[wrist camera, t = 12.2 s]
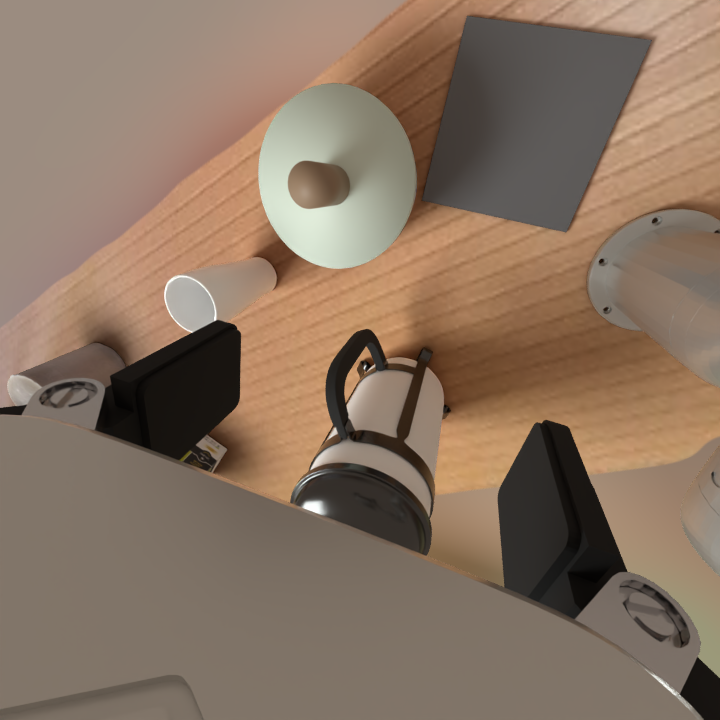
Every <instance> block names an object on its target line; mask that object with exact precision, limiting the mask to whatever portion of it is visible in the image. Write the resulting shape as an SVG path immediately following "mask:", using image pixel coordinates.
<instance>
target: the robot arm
mask: <svg viewBox="0 0 720 720" xmlns="http://www.w3.org/2000/svg"><path fill="white" fill-rule="evenodd" d="M654 218H656V221H655V222H654V223H652V220H653V219H654ZM715 231H716V233H714V232H715ZM600 259H603V262H601V263H599V260H600ZM587 292H588V296H589V299H590V301H591V303H592V305H593V306H594V308H595V309H596V311H597V312H598V313H599V314H600V315H601V316H602V317H603V318H605V319H606V320H607V321H609V322H610V323H612V324H614V325H616V326H618V327H620V328H624V329H628V330H633V331H644V332H645V333H646V334H647V335H649V336H650V337H651V338H652V339H653V340H654V341H656V342H657V343H658V344H659V345H660V346H661V347H663V348H664V349H665V350H666V351H667V352H669V353H670V354H671V355H672V356H673V357H674V358H676V359H677V360H678V361H679V362H680V363H681V364H683V365H684V366H685V367H687V368H688V369H689V370H690V371H691V372H693V373H694V374H695V375H697V376H698V377H699V378H701V379H703V380H704V381H706V382H708V383H710V384H712V385H714V386H716V387H719V388H720V220H718V219H717V218H715V217H713V216H712V215H710V214H706V213H703V212H700V211H696V210H689V209H668V210H661V211H656V212H653V213H649V214H646V215H643V216H641V217H639V218H637V219H635V220H632V221H630V222H628V223H627V224H625V225H624V226H623V227H621V228H620V229H618V230H617V231H615V232H614V233H613V234H612V235H611V236H610V237H609V238H608V239H607V240H606V241H605V242H604V243H603V245H602V246H601V247H600V248H599V250H598V251H597V253H596V254H595V256H594V258H593V260H592V262H591V265H590V268H589V271H588V276H587ZM605 307H607V309H606V310H603V309H604V308H605ZM240 357H241V333H240V331H239V330H237V327H236V326H235V325H234V324H231V323H227V322H224V321H221V320H216V321H214V322H212V323H210V324H208V325H206V326H204V327H202V328H200V329H198V330H196V331H194V332H193V333H191V334H189V335H187V336H185V337H183V338H181V339H179V340H177V341H175V342H173V343H172V344H170V345H168V346H166V347H164V348H162V349H160V350H158V351H156V352H154V353H152V354H151V355H149V356H147V357H145V358H143V359H141V360H139V361H137V362H135V363H133V364H131V365H130V366H128V367H126V368H124V369H122V370H120V371H118V372H116V373H114V374H112V375H110V380H111V385H109V386H108V387H106V388H105V386H104V385H103V384H102V383H101V382H99V381H97V380H94V379H89V378H71V379H64V380H60V381H56V382H53V383H51V384H48V385H46V386H43V387H42V388H40V389H39V390H37V391H36V392H35V393H34V394H33V395H32V397H31V398H30V400H29V402H28V404H27V405H21V406H12V407H4V408H0V720H720V678H719V677H718V676H717V675H716V674H715V673H714V672H712V671H711V670H710V669H709V668H708V667H707V666H706V665H705V664H704V663H703V662H702V661H701V660H700V659H699V658H698V654H699V652H700V645H701V642H700V638H699V635H698V632H697V629H696V627H695V626H694V624H693V622H692V620H691V619H690V617H689V616H688V614H687V613H686V612H685V611H684V609H683V608H682V607H681V606H680V604H679V603H678V602H677V601H676V600H675V599H673V598H672V597H671V596H670V595H669V594H668V593H667V592H666V591H665V590H663V589H662V588H661V587H659V586H658V585H656V584H655V583H654V582H651V581H650V580H648V579H646V578H644V577H642V576H640V575H637V574H633V573H630V572H627V569H626V567H625V565H624V562H623V559H622V557H621V554H620V552H619V549H618V547H617V545H616V542H615V539H614V537H613V535H612V532H611V530H610V527H609V524H608V522H607V519H606V517H605V514H604V512H603V509H602V507H601V504H600V502H599V499H598V497H597V495H596V492H595V489H594V488H593V486H592V484H591V482H590V479H589V477H588V474H587V472H586V469H585V467H584V464H583V462H582V459H581V457H580V454H579V452H578V449H577V447H576V444H575V442H574V439H573V437H572V434H571V432H570V429H569V428H568V427H567V426H565V425H561V424H558V423H555V422H552V421H548V420H545V421H543V422H542V424H541V423H538V422H537V423H535V424H534V426H533V428H532V429H531V431H530V433H529V435H528V437H527V439H526V441H525V442H524V444H523V446H522V448H521V450H520V452H519V453H518V455H517V457H516V459H515V461H514V463H513V465H512V466H511V468H510V470H509V472H508V474H507V476H506V477H505V479H504V481H503V483H502V485H501V487H500V489H499V493H498V509H499V522H500V535H501V546H502V560H503V572H504V584H505V585H504V586H505V587H502V586H499V585H497V584H495V583H492V582H490V581H488V580H485V579H483V578H480V577H477V576H475V575H473V574H470V573H468V572H465V571H463V570H460V569H458V568H456V567H453V566H451V565H448V564H446V563H443V562H441V561H438V560H435V559H432V558H430V557H428V556H425V555H423V554H420V553H418V552H415V551H412V550H410V549H407V548H405V547H402V546H400V545H397V544H395V543H392V542H389V541H387V540H384V539H382V538H379V537H377V536H374V535H372V534H369V533H367V532H364V531H361V530H359V529H356V528H354V527H351V526H349V525H346V524H343V523H341V522H338V521H336V520H333V519H331V518H328V517H325V516H323V515H320V514H318V513H315V512H312V511H310V510H307V509H305V508H302V507H299V506H297V505H294V504H292V503H289V502H287V501H284V500H281V499H279V498H276V497H273V496H271V495H268V494H266V493H263V492H260V491H258V490H255V489H253V488H250V487H247V486H245V485H242V484H240V483H237V482H234V481H232V480H229V479H226V478H224V477H221V476H219V475H216V474H213V473H211V472H208V471H205V470H203V469H200V468H197V467H195V466H192V465H189V464H187V463H184V462H182V461H179V460H180V459H181V458H183V457H184V456H185V455H186V454H187V453H188V452H189V451H190V450H191V449H192V448H193V447H194V446H195V445H196V444H197V443H199V442H200V441H201V440H202V439H203V438H204V437H205V436H206V435H207V434H208V433H209V432H210V431H211V430H212V429H214V428H215V427H216V426H217V425H218V424H219V423H220V422H221V421H222V420H223V419H224V418H225V417H226V416H227V415H228V414H230V413H231V412H232V411H233V410H234V409H235V408H236V406H237V405H238V403H239V399H240ZM681 522H682V526H683V529H684V532H685V534H686V536H687V538H688V539H689V541H690V543H691V544H692V546H693V548H694V549H695V550H696V551H697V553H698V554H699V555H700V556H701V558H702V559H703V560H704V561H705V562H706V563H707V564H708V565H709V567H711V568H712V569H713V571H714V572H715V573H716V574H717V575H718V576H720V445H719V446H718V447H717V449H716V450H715V451H714V453H713V454H712V456H711V457H710V458H709V459H708V461H707V462H706V464H705V465H704V466H703V468H702V469H701V471H700V472H699V474H698V475H697V477H696V478H695V480H694V481H693V482H692V484H691V485H690V487H689V489H688V490H687V492H686V494H685V496H684V499H683V502H682V506H681Z"/></svg>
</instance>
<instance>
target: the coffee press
mask: <svg viewBox="0 0 720 720" xmlns="http://www.w3.org/2000/svg"><path fill="white" fill-rule="evenodd" d="M366 346H367V348H368V349H369V351H370V353H371V355H372V358H373V360H374V363H375V364H374V365H373V366H372V367H371V366H370V364H369V363H368V362H366V361H361V362H360V364H359V366H358V368H357V371H358V373H359V376H360V380H359V382H358V383H357V385H356V387H355V389H356V388H357V389H356V390H355V389H354V390H353V392H352V394H351V395H350V397H349V399H348V401H349V400H350V401H349V403H348V401H347V402H346V403H345V396H344V386H345V380H346V377H347V374H348V373H349V371H350V369H351V368H352V366H353V365H354V363H355V362H356V360H357V359H358V357H359V356H360V354H361V353H362V351H363V350H364V348H365V347H366ZM432 353H433V352H432V351H431V350H429V349H427V348H425V347H424V348H423V349H422V351H421V353H420V354H419V356H418V358H417V360H416V361H415V360H412V359H408V358H400V357H397V358H389V359H386V358H385V356H384V353H383V350H382V348H381V345H380V343H379V341H378V339H377V337H376V336H375V334H374V333H373V332H372V331H371V330H369V329H365V330H361V331H358V332H356V333H355V334H353V336H352V337H351V338H350V339H349V340H348V341H347V343H346V344H345V345H344V346H343V348H342V349H341V350H340V351H339V353H338V354H337V355H336V357H335V358H334V360H333V362H332V363H331V365H330V367H329V370H328V374H327V378H326V402H327V407H328V411H329V414H330V418H331V420H332V423H333V426H332V428H331V430H330V432H329V433H328V435H327V437H326V438H325V440H324V442H323V444H322V445H321V447H320V449H319V451H318V452H317V454H316V456H315V457H314V459H313V461H312V463H311V465H310V468H309V471H308V472H307V473H306V474H305V475H303V476H302V478H301V479H300V480H299V481H298V483H297V485H296V486H295V488H294V490H293V492H292V496H291V501H290V503H292V504H294V505H297V506H299V507H302V508H305V509H307V510H310V511H312V512H315V513H318V514H320V515H323V516H325V517H328V518H331V519H333V520H336V521H338V522H341V523H343V524H346V525H349V526H351V527H354V528H356V529H359V530H361V531H364V532H367V533H369V534H372V535H374V536H377V537H379V538H382V539H384V540H387V541H389V542H392V543H395V544H397V545H400V546H402V547H405V548H407V549H410V550H412V551H415V552H418V553H420V554H423V555H425V556H427V554H428V552H429V549H430V545H431V537H432V528H431V522H430V517H431V515H432V511H433V504H434V496H435V484H434V477H435V470H436V462H437V454H438V446H439V439H440V431H441V423H442V419H445V418H446V417H447V416H448V414H449V413H450V411H451V410H450V408H449V407H448V406H446V405H444V393H443V388H442V386H441V383H440V381H439V380H438V378H437V377H436V375H435V374H434V373H433V372H432V371H431V370H430V369H429V368H428V367H427V364H428V361H429V359H430V357H431V355H432ZM364 370H365V371H366V373H365V374H364V372H365V371H364ZM358 384H359V385H358ZM357 386H358V387H357ZM354 391H355V392H354ZM353 393H354V394H353ZM352 395H353V396H352ZM351 396H352V397H351ZM350 398H351V399H350ZM347 403H348V404H347ZM346 405H347V406H346ZM333 428H334V429H333ZM332 429H333V430H332ZM331 431H332V432H331ZM330 433H331V434H330ZM329 435H330V436H329ZM328 436H329V437H328ZM327 438H328V439H327ZM326 440H327V441H326ZM325 441H326V442H325ZM431 500H432V501H431Z"/></svg>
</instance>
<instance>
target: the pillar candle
mask: <svg viewBox="0 0 720 720" xmlns="http://www.w3.org/2000/svg"><path fill="white" fill-rule="evenodd" d="M124 368H126V366H125V364H124V362H123V360H122V359H121V358H120V356H119V355H118V354H117V353H116V352H115V351H114V350H113V349H112V348H110V347H107V346H105V345H102V344H100V343H92V344H89V345H87V346H84V347H82V348H79V349H77V350H74V351H72V352H70V353H67V354H65V355H62V356H59V357H57V358H55V359H53V360H50V361H48V362H46V363H43V364H41V365H38V366H36V367H34V368H31V369H28V370H26V371H24V372H21V373H19V374H16V375H11V376H10V379H9V380H8V384H7V387H8V393H9V395H10V397H11V399H12V401H13V402H14V404H15V405H16V406H21V405H27V404H28V402H29V400H30V398H31V397H32V395H33V394H34V393H35V392H36V391H37V390H39V389H40V388H42V387H43V386H46V385H48V384H51V383H53V382H56V381H60V380H64V379H71V378H89V379H94V380H97V381H99V382H101V383H102V384H103V385H104V386H105V388H106V387H108V386H109V385H111V380H110V375H112V374H114V373H116V372H118V371H120V370H122V369H124Z"/></svg>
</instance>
